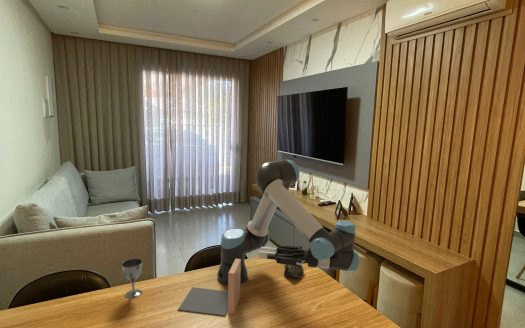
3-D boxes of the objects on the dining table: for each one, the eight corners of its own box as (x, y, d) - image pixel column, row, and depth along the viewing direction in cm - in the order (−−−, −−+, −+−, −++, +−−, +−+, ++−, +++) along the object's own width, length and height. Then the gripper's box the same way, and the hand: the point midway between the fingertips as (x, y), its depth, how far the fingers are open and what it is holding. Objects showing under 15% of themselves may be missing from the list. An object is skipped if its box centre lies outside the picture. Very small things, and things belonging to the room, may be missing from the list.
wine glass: (147, 290, 134) (145, 260, 131) (134, 301, 126) (132, 268, 124) (133, 287, 136) (131, 257, 134) (119, 296, 129) (117, 265, 126)
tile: (234, 295, 132) (235, 258, 129) (240, 296, 132) (240, 259, 129) (227, 313, 120) (228, 272, 117) (233, 314, 120) (234, 273, 117)
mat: (192, 288, 137) (192, 287, 137) (234, 292, 134) (234, 291, 134) (177, 310, 121) (177, 309, 121) (224, 316, 119) (224, 315, 118)
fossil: (303, 280, 145) (295, 263, 144) (287, 286, 147) (278, 269, 146) (305, 269, 155) (296, 252, 154) (289, 274, 158) (281, 258, 157)
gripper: (318, 277, 110) (256, 271, 113) (316, 256, 126) (262, 251, 129) (319, 258, 109) (257, 253, 112) (317, 240, 125) (263, 235, 128)
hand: (260, 252), depth 121 cm, fingers open, 3 cm apart
